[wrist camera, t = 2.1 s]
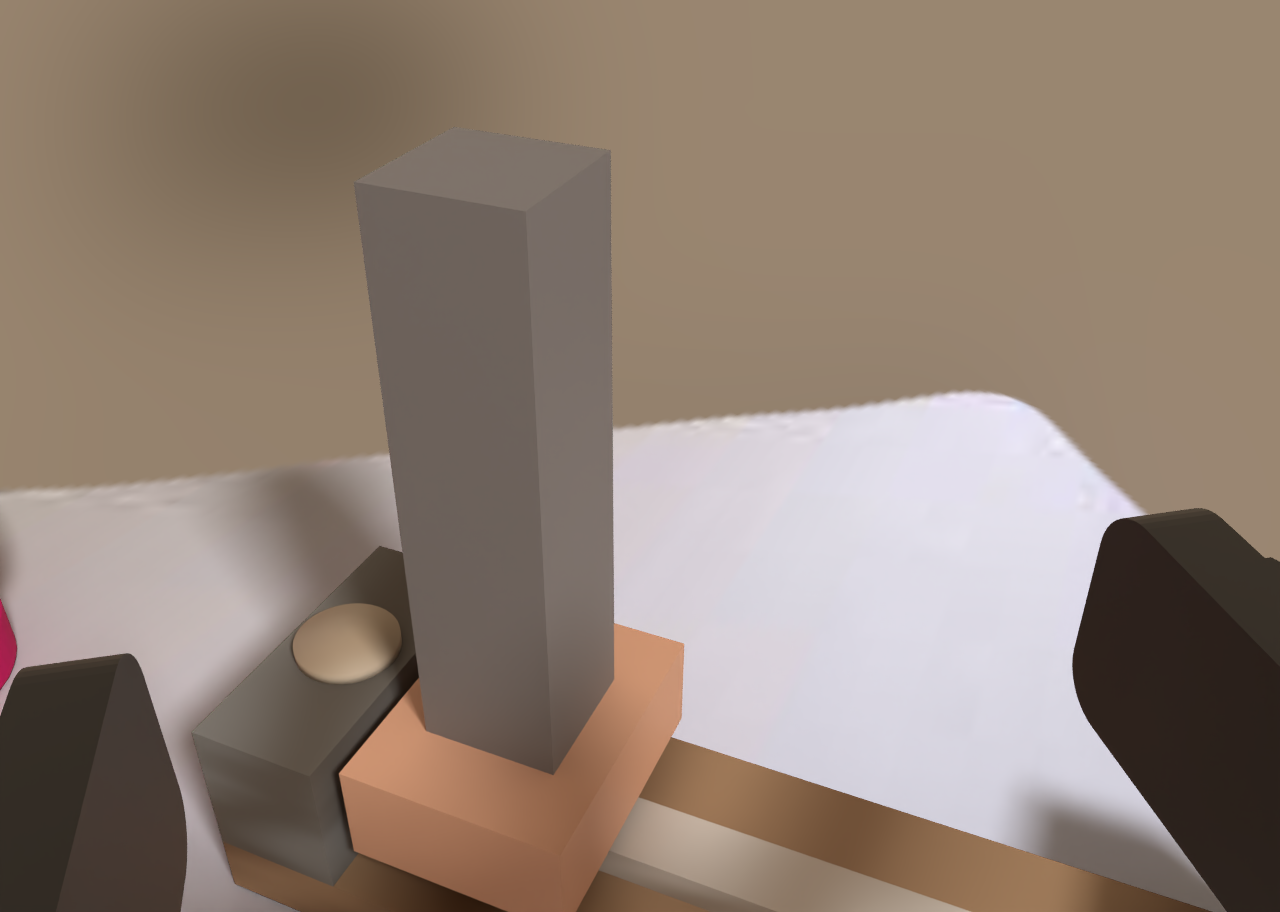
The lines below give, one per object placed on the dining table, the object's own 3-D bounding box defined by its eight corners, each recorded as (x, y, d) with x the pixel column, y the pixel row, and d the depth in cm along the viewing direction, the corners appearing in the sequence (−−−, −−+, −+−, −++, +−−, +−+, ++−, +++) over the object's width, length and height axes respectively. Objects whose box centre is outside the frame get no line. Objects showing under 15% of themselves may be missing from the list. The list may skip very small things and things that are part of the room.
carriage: (354, 850, 25) (228, 209, 17) (499, 660, 30) (454, 94, 22) (563, 934, 23) (532, 266, 15) (681, 717, 28) (702, 129, 20)
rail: (234, 883, 27) (188, 722, 24) (400, 687, 33) (378, 536, 30) (1395, 1373, 19) (1530, 1221, 17) (1360, 1009, 25) (1458, 846, 22)
